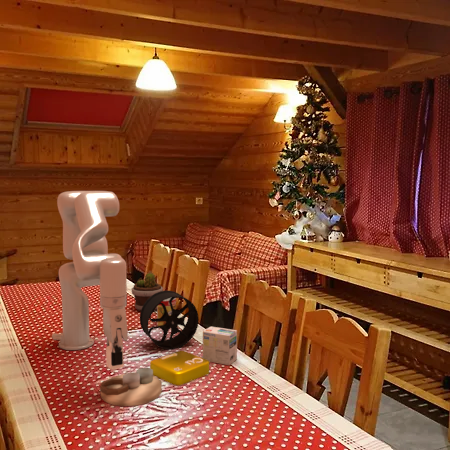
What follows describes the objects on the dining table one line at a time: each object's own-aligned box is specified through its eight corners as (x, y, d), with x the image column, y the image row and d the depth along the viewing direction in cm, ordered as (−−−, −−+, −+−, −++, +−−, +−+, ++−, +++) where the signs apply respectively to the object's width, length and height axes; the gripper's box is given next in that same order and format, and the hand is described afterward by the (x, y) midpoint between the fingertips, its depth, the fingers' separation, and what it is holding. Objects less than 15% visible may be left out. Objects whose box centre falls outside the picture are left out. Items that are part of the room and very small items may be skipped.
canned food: (174, 328, 208) (174, 300, 207) (155, 328, 208) (155, 300, 207) (176, 322, 216) (176, 295, 215) (158, 322, 216) (158, 295, 215)
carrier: (94, 406, 140) (94, 389, 140) (107, 379, 158) (107, 364, 158) (158, 406, 141) (158, 389, 140) (164, 379, 159) (164, 364, 158)
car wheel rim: (147, 353, 181) (147, 299, 178) (139, 344, 190) (139, 292, 187) (198, 345, 189) (198, 293, 187) (188, 337, 198) (188, 287, 196)
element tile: (181, 361, 174) (181, 348, 174) (212, 373, 164) (212, 359, 164) (147, 373, 164) (147, 359, 163) (177, 388, 153) (177, 373, 153)
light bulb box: (237, 359, 176) (237, 329, 175) (229, 366, 170) (230, 335, 169) (210, 354, 180) (210, 325, 179) (201, 360, 174) (202, 330, 173)
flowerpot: (127, 307, 239) (127, 266, 237) (158, 303, 245) (158, 264, 243) (135, 315, 226) (135, 272, 224) (167, 311, 232) (167, 269, 230)
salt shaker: (124, 367, 146) (123, 336, 145) (111, 371, 143) (111, 339, 142) (118, 363, 149) (117, 332, 148) (105, 366, 146) (105, 335, 145)
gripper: (135, 306, 138) (135, 369, 140) (118, 293, 153) (119, 350, 155) (108, 309, 135) (109, 374, 137) (93, 295, 149) (95, 354, 151)
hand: (114, 361), depth 146 cm, fingers closed on salt shaker, 4 cm apart
